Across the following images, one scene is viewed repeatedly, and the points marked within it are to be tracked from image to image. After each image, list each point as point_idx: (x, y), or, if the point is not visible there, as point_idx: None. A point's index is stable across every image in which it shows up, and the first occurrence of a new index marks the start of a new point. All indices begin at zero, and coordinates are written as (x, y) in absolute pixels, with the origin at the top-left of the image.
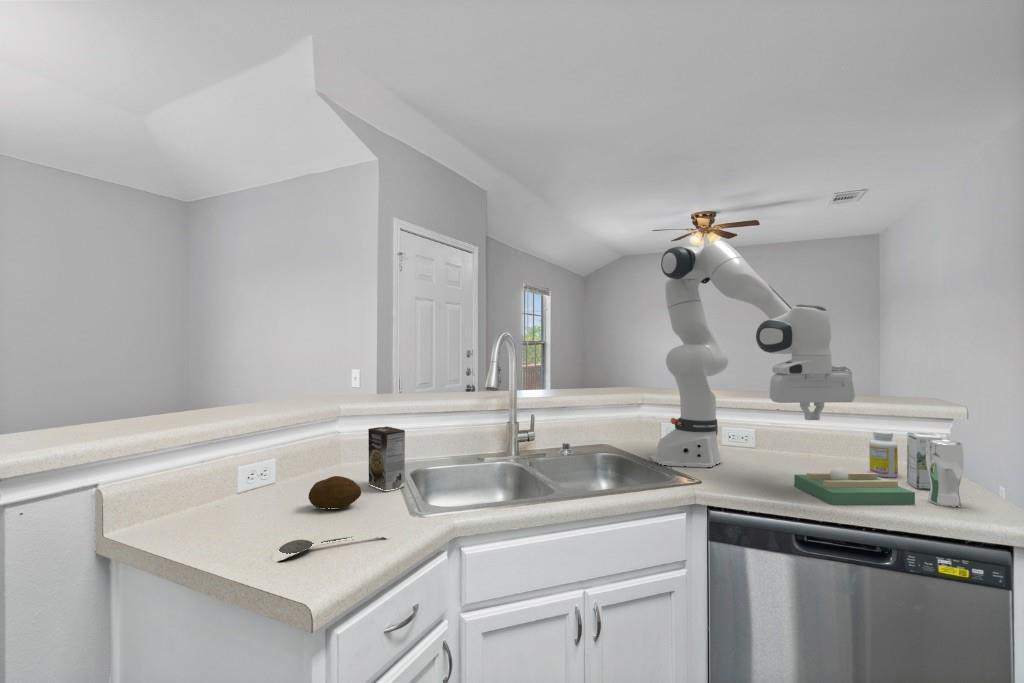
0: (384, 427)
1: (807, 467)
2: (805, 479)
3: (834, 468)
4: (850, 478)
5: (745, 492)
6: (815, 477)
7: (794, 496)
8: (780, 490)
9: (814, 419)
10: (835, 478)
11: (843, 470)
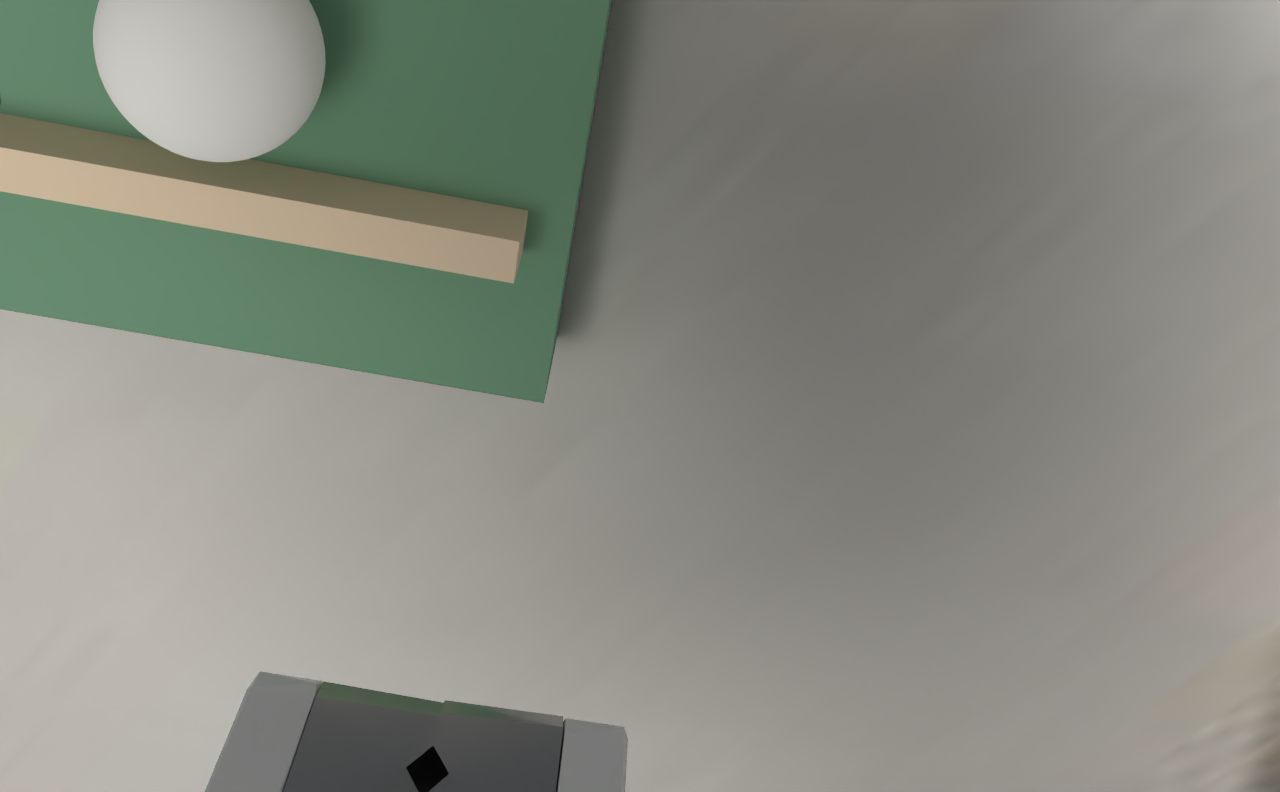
0: None
1: (58, 718)
2: (562, 226)
3: (237, 108)
4: (5, 121)
5: (1246, 250)
6: (442, 208)
7: (853, 26)
8: (828, 235)
9: (428, 703)
10: (310, 4)
11: (158, 5)
